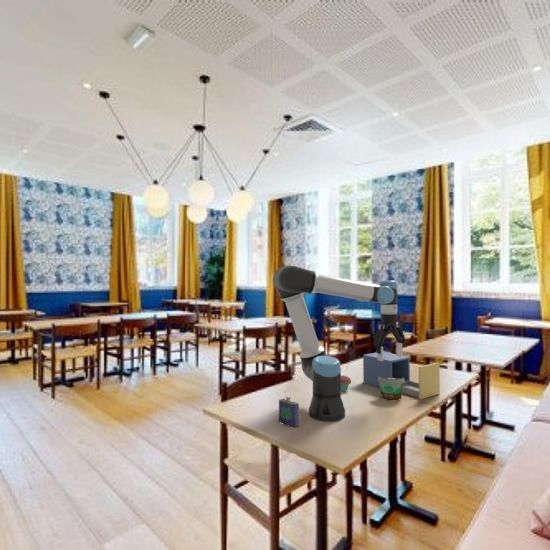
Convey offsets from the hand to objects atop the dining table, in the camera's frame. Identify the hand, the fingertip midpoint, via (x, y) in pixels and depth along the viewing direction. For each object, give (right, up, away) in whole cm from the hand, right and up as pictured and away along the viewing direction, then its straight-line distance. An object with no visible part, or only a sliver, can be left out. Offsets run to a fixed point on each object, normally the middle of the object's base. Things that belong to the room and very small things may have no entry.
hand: (390, 358), depth 177 cm
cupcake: (-20, -20, +15) cm, 32 cm away
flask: (-49, -20, -29) cm, 60 cm away
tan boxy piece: (+15, -19, +10) cm, 26 cm away
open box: (+5, -19, +25) cm, 32 cm away
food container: (0, -19, 0) cm, 19 cm away
